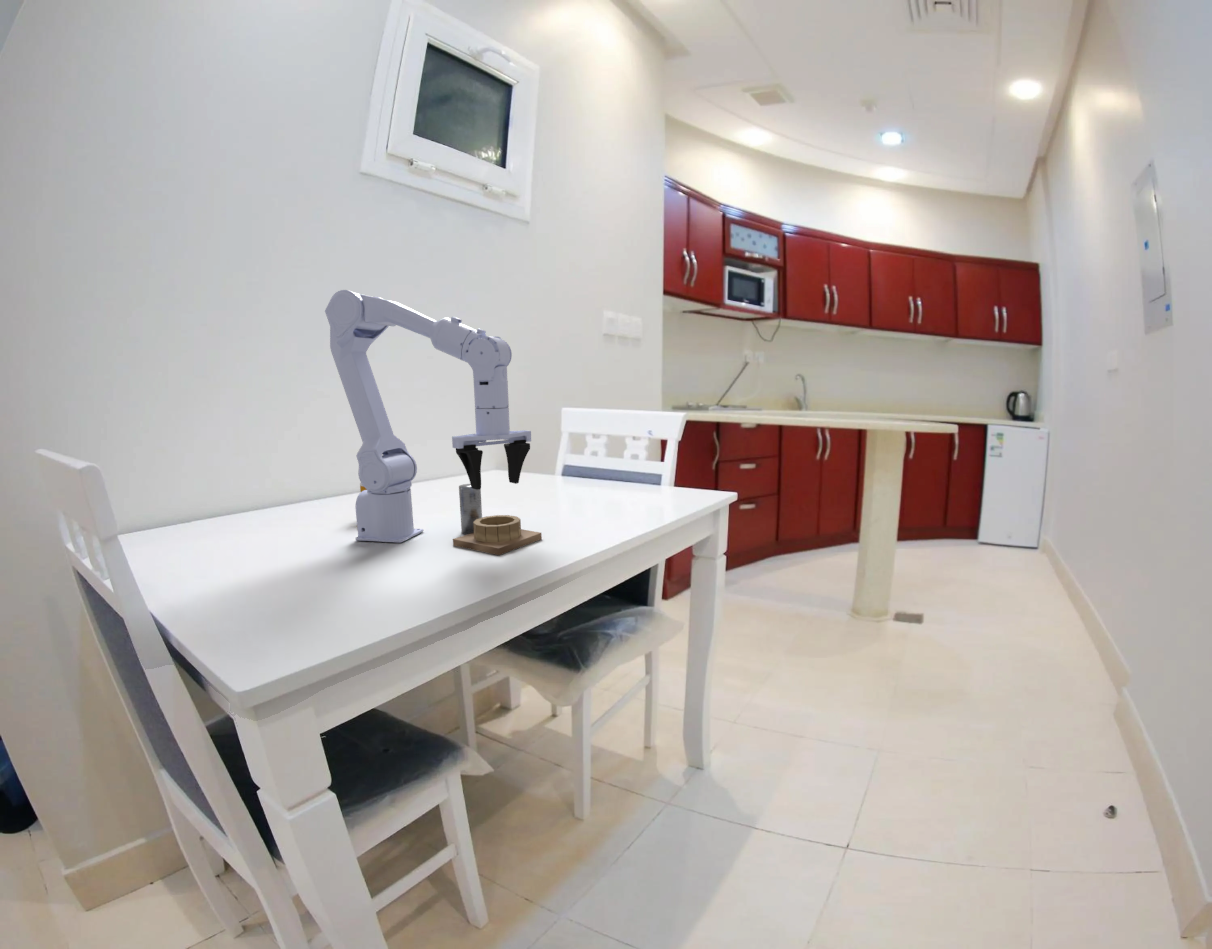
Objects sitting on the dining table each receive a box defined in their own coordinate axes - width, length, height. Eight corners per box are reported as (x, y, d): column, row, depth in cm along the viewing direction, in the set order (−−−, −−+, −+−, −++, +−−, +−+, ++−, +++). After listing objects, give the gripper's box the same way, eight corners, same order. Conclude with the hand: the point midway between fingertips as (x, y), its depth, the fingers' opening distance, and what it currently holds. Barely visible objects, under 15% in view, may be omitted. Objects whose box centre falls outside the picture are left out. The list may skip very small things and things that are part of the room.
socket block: (453, 545, 99) (451, 523, 98) (497, 531, 108) (496, 510, 107) (499, 555, 93) (497, 531, 92) (541, 539, 102) (540, 517, 101)
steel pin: (457, 533, 106) (454, 487, 105) (467, 528, 110) (464, 483, 109) (477, 534, 106) (474, 487, 104) (486, 529, 109) (483, 484, 108)
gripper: (464, 410, 89) (469, 494, 91) (540, 406, 98) (542, 483, 100) (444, 409, 94) (449, 488, 96) (517, 405, 103) (520, 478, 106)
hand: (495, 485), depth 99 cm, fingers open, 7 cm apart
